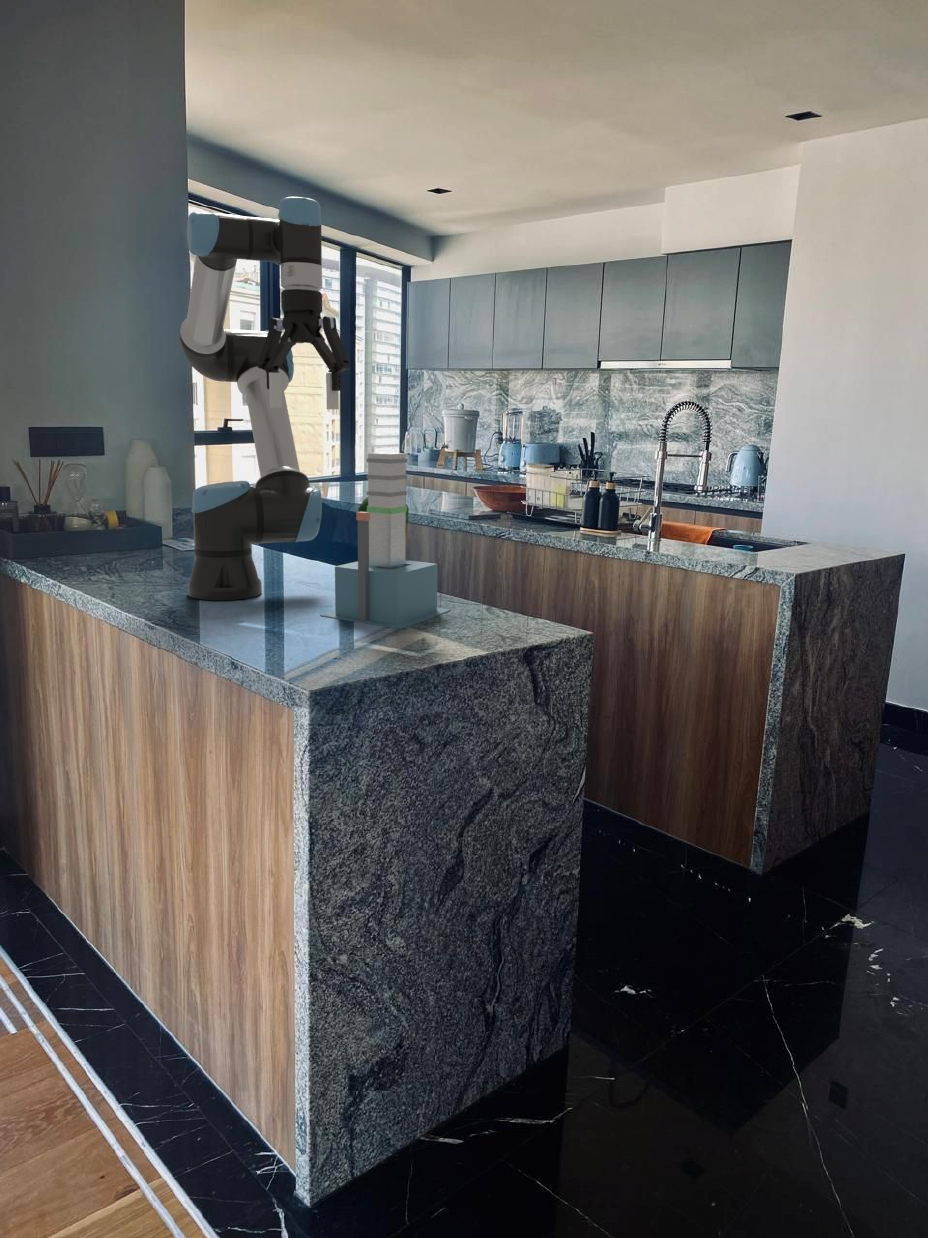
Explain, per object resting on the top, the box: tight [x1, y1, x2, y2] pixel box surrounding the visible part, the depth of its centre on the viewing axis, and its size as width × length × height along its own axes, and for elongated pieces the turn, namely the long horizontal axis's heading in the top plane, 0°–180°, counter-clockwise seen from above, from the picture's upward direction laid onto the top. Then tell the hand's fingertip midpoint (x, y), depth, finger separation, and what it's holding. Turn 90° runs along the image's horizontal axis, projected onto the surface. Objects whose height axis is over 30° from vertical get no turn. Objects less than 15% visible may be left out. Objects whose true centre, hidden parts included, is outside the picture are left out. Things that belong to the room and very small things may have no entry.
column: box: [366, 451, 408, 570], centre depth 164 cm, size 5×5×22 cm
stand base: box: [320, 511, 452, 630], centre depth 166 cm, size 18×18×21 cm
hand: (303, 408), depth 167 cm, fingers open, 13 cm apart
